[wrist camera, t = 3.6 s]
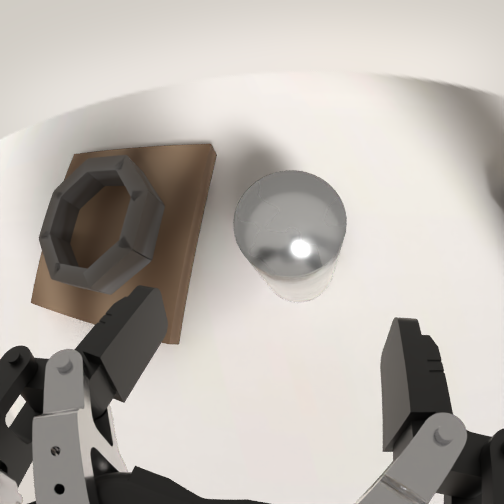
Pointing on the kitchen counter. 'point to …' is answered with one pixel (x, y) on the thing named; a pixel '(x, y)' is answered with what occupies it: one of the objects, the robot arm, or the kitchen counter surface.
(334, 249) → the steel peg
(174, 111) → the kitchen counter surface
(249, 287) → the kitchen counter surface
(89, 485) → the robot arm
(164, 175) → the socket board
